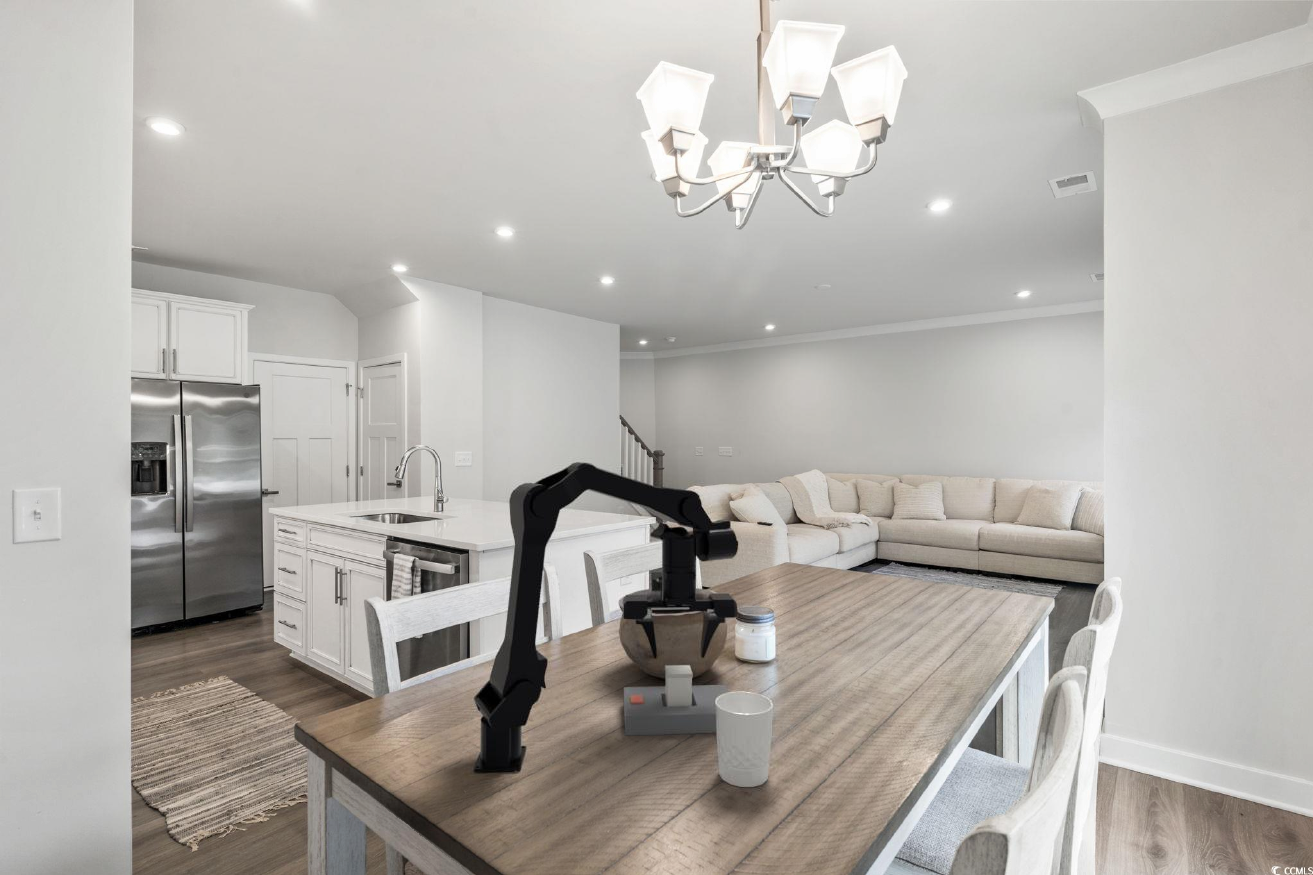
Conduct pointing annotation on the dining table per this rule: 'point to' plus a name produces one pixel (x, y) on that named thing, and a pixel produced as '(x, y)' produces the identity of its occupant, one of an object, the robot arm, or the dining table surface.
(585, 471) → the robot arm
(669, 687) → the plug
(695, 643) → the ceramic bowl
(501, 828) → the dining table surface
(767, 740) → the white cup
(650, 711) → the socket
